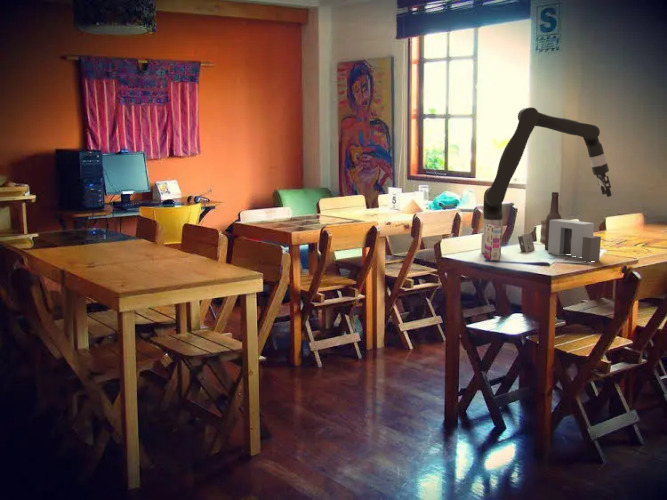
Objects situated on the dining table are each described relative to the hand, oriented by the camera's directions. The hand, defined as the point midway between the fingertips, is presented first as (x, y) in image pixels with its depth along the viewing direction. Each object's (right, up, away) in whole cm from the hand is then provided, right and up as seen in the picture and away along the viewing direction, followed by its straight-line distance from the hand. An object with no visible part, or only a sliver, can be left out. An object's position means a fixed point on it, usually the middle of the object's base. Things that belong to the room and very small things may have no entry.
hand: (607, 195), depth 386 cm
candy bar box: (-59, -32, -11) cm, 68 cm away
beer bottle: (-22, -27, +19) cm, 40 cm away
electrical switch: (-37, -28, +15) cm, 48 cm away
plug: (-13, -33, -15) cm, 38 cm away
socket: (-18, -30, +1) cm, 35 cm away
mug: (-14, -24, +42) cm, 50 cm away
